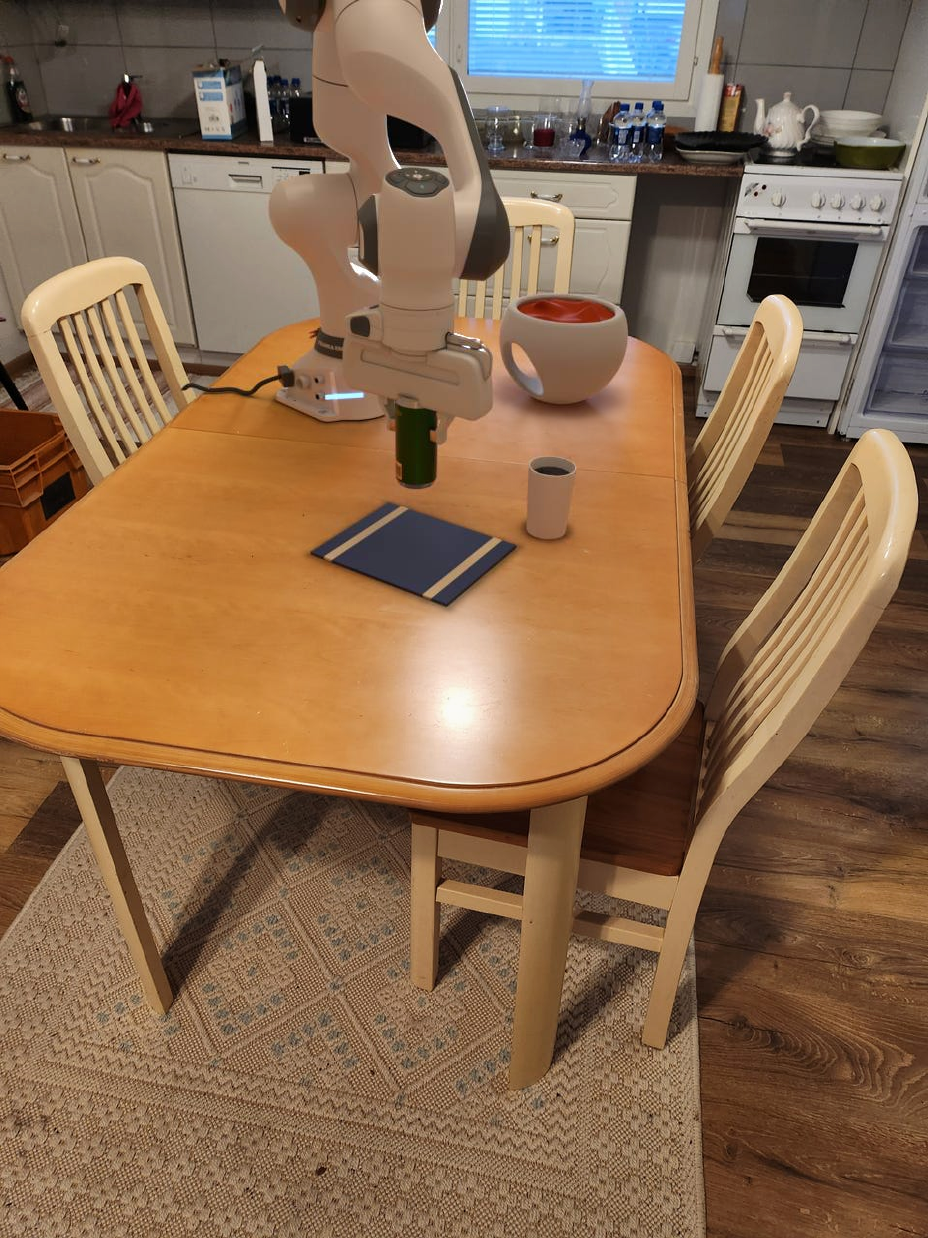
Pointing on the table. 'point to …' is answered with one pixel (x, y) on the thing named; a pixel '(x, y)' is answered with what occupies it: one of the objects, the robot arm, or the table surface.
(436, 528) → the cloth
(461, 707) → the table surface
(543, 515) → the white coffee cup
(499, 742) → the table surface
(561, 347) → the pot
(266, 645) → the table surface
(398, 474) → the green drink can
